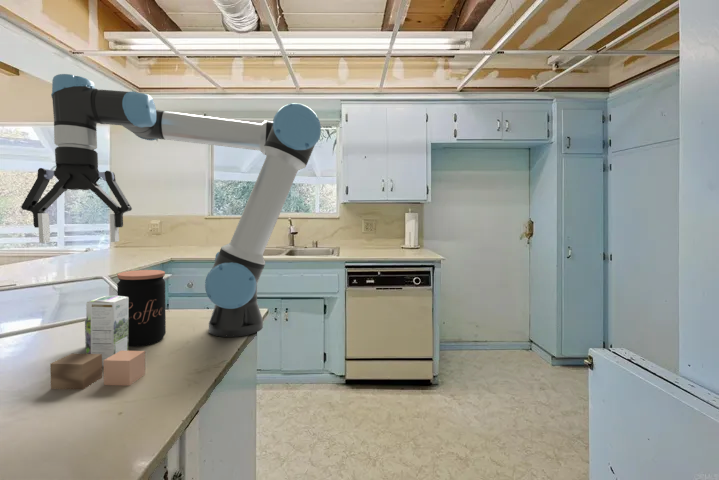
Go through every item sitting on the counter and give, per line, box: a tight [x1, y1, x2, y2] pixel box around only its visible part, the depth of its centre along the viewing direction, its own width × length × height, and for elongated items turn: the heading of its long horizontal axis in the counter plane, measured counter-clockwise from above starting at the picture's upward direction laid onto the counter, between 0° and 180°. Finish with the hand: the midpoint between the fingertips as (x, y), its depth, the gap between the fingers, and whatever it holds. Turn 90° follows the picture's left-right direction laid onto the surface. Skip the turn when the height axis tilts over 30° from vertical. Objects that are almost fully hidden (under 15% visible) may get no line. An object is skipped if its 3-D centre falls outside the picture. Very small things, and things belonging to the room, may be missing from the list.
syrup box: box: [85, 295, 129, 368], centre depth 78 cm, size 6×6×14 cm
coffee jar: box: [116, 269, 167, 348], centre depth 92 cm, size 11×11×18 cm
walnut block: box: [49, 353, 103, 391], centre depth 68 cm, size 6×5×5 cm
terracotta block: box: [103, 350, 146, 386], centre depth 70 cm, size 5×5×5 cm
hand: (80, 242), depth 80 cm, fingers open, 13 cm apart
